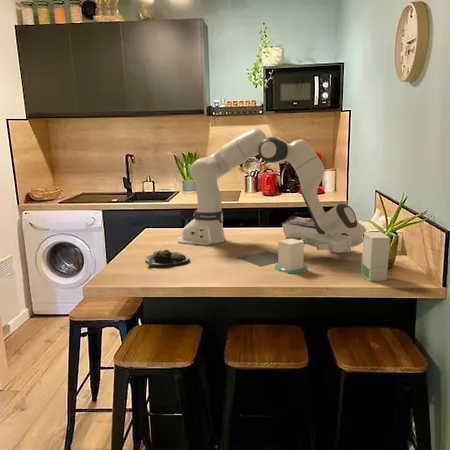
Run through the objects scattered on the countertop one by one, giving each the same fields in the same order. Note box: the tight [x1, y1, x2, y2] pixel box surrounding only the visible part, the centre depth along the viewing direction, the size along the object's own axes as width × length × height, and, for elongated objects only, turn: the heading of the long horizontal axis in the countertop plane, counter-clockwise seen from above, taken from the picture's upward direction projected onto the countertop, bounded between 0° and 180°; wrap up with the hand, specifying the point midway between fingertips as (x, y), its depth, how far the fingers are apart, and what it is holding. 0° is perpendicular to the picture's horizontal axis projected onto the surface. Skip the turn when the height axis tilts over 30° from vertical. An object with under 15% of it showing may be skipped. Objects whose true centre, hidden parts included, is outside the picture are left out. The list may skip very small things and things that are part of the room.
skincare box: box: [360, 231, 391, 282], centre depth 164 cm, size 8×7×16 cm
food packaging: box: [280, 215, 318, 239], centre depth 228 cm, size 25×8×23 cm
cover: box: [277, 237, 305, 271], centre depth 176 cm, size 7×7×10 cm
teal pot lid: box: [274, 263, 308, 275], centre depth 177 cm, size 12×12×4 cm
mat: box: [235, 250, 278, 267], centre depth 190 cm, size 16×16×1 cm
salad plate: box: [144, 249, 190, 269], centre depth 191 cm, size 19×18×5 cm
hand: (308, 245), depth 180 cm, fingers open, 8 cm apart
